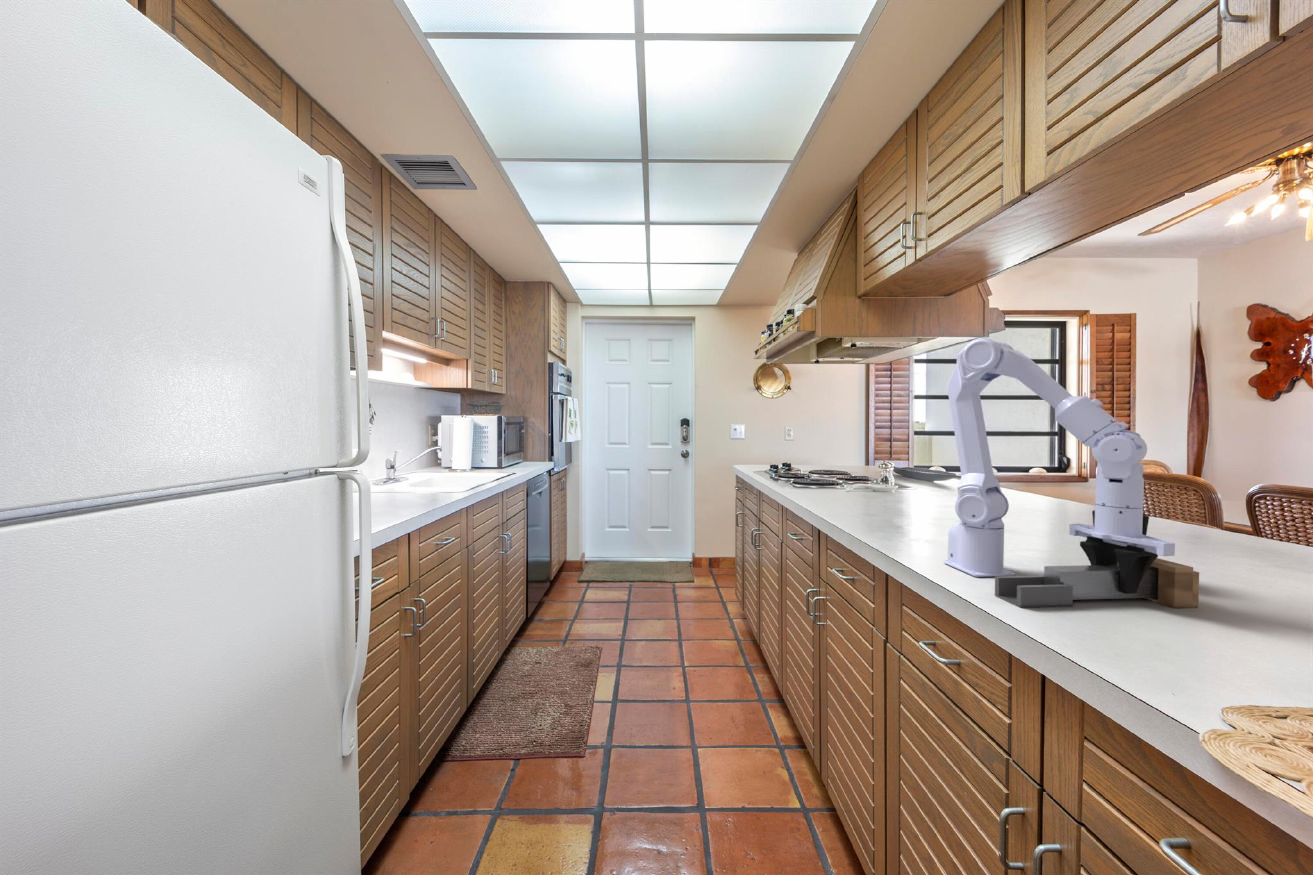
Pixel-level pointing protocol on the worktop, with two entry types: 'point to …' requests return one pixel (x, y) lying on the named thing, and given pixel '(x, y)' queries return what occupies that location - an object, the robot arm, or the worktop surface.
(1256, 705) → the worktop surface
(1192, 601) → the socket
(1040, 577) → the grey u-shaped channel
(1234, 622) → the worktop surface
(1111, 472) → the robot arm
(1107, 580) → the bar
